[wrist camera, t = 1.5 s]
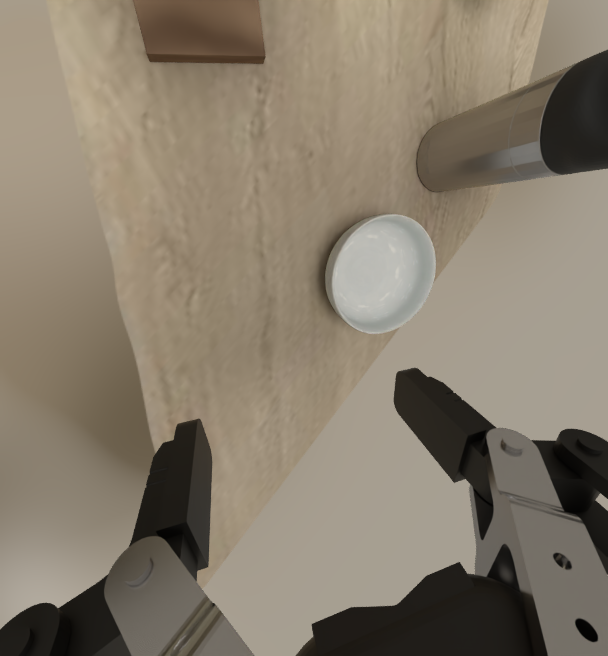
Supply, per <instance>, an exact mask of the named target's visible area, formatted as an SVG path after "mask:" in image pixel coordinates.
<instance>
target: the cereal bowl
mask: <svg viewBox="0 0 608 656" xmlns="http://www.w3.org/2000/svg"><path fill="white" fill-rule="evenodd" d="M435 271H436V256H435V250H434V247H433V244H432V241H431V239H430V237H429V235H428V233H427V232H426V230H425V229H424V228H423V227H422V226H421V225H420V224H419V223H418V222H416V221H415V220H413V219H411V218H409V217H407V216H404V215H399V214H380V215H376V216H372V217H369V218H366V219H363V220H362V221H359V222H358V223H356V224H355V225H353V226H352V227H351V228H349V229H348V230H347V231H346V232H345V233H344V234H343V235H342V236H341V237H340V239H339V240H338V241H337V243H336V244H335V246H334V247H333V249H332V252H331V253H330V256H329V259H328V262H327V266H326V272H325V285H326V291H327V295H328V298H329V301H330V303H331V305H332V307H333V308H334V310H335V311H336V313H337V314H338V315H339V316H340V317H341V318H342V319H343V320H344V321H345V322H346V323H347V324H348V325H350V326H351V327H353V328H354V329H356V330H358V331H361V332H364V333H368V334H381V333H386V332H389V331H392V330H395V329H397V328H399V327H400V326H402V325H404V324H405V323H407V322H408V321H409V320H410V319H411V318H412V317H414V316H415V315H416V313H417V312H418V311H419V310H420V309H421V307H422V306H423V304H424V303H425V301H426V299H427V297H428V296H429V293H430V291H431V288H432V285H433V282H434V278H435Z"/></svg>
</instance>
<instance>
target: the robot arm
mask: <svg viewBox="0 0 608 656" xmlns="http://www.w3.org/2000/svg"><path fill="white" fill-rule="evenodd" d="M607 168H608V50H606V51H603V52H601V53H599V54H596V55H594V56H592V57H589V58H587V59H585V60H583V61H580V62H578V63H576V64H574V65H572V66H569V67H567V68H565V69H562V70H560V71H558V72H555V73H553V74H551V75H549V76H546V77H544V78H542V79H540V80H538V81H535V82H533V83H531V84H528V85H526V86H524V87H521V88H519V89H517V90H515V91H512V92H510V93H508V94H505V95H503V96H501V97H499V98H496V99H494V100H492V101H489V102H487V103H485V104H483V105H480V106H478V107H476V108H473V109H471V110H469V111H467V112H464V113H462V114H459V115H457V116H455V117H453V118H450V119H448V120H446V121H443V122H441V123H439V124H437V125H435V126H434V127H432V128H431V129H430V130H429V131H428V132H427V134H426V135H425V137H424V138H423V140H422V142H421V144H420V147H419V151H418V157H417V169H418V174H419V177H420V179H421V181H422V183H423V184H424V186H426V187H427V188H428V189H429V190H431V191H435V192H441V191H449V190H457V189H465V188H472V187H479V186H487V185H494V184H501V183H508V182H516V181H523V180H530V179H536V178H544V177H550V176H558V175H564V174H572V173H578V172H585V171H593V170H600V169H607ZM394 405H395V408H396V410H397V412H398V414H399V415H400V416H401V418H402V419H403V420H404V421H405V423H406V424H407V425H408V426H409V427H410V428H411V430H412V431H413V432H414V434H415V435H416V436H417V437H418V439H419V440H420V441H421V442H422V443H423V445H424V446H425V447H426V448H427V450H428V451H429V452H430V453H431V455H432V456H433V457H434V458H435V460H436V461H437V462H438V463H439V464H440V466H441V467H442V468H443V470H444V471H445V472H446V473H447V474H448V476H449V477H450V478H451V479H452V481H453V482H454V483H455V482H458V481H461V480H463V479H466V480H467V481H468V482H469V483H470V487H469V492H470V501H471V507H472V516H473V524H474V532H475V539H476V558H475V559H476V560H475V575H474V574H467V573H466V571H465V570H464V568H463V566H462V565H461V564H460V562H459V563H456V564H454V565H451V566H449V567H446V568H444V569H442V570H439V571H437V572H435V573H432V574H430V575H427V576H426V577H425V578H424V579H423V580H422V581H421V582H420V583H419V584H418V585H417V586H416V587H415V588H414V589H413V590H412V591H411V592H410V593H409V594H408V595H407V596H406V597H405V598H404V599H403V600H402V601H401V602H400V603H398V604H397V605H395V606H378V607H351V608H349V609H346V610H344V611H342V612H339V613H337V614H334V615H332V616H330V617H327V618H325V619H323V620H320V621H318V622H316V623H313V624H312V630H313V638H311V639H310V640H309V641H308V642H307V643H306V644H305V645H304V646H303V647H302V649H301V650H300V651H299V652H298V654H297V655H296V656H608V576H607V574H608V511H607V510H606V509H605V508H604V507H602V506H601V505H600V504H599V503H598V502H597V501H595V500H596V498H597V497H598V495H599V494H600V493H601V494H602V495H603V496H605V497H606V498H607V499H608V442H607V441H605V440H604V439H602V438H600V437H598V436H596V435H594V434H592V433H589V432H586V431H583V430H578V429H565V430H563V431H561V432H560V434H559V436H558V438H557V440H556V441H537V440H536V441H535V440H530V439H528V438H527V437H526V436H524V435H522V434H520V433H518V432H516V431H513V430H510V429H506V428H496V427H495V426H493V425H492V424H491V423H490V422H489V421H488V420H486V419H485V418H484V417H483V416H482V415H481V414H479V413H478V412H477V411H476V410H475V409H473V408H472V407H471V406H470V405H469V404H468V403H466V402H465V401H464V400H462V399H461V397H459V396H458V395H457V394H456V393H453V391H452V390H451V389H450V388H449V387H447V386H446V385H445V384H444V383H443V382H440V381H438V380H436V379H434V378H432V377H427V376H426V375H424V374H423V373H422V372H421V371H420V370H419V369H417V368H411V369H407V370H403V371H399V372H397V374H396V382H395V391H394ZM211 482H212V455H211V449H210V446H209V443H208V440H207V437H206V434H205V431H204V428H203V425H202V422H201V420H200V419H196V420H192V421H187V422H183V423H179V424H177V426H176V431H175V436H174V440H173V441H169V442H165V443H163V444H162V445H161V447H160V448H159V450H158V451H157V453H156V454H155V456H154V457H153V461H152V465H151V468H150V475H149V476H148V480H147V484H146V485H147V487H146V488H145V491H144V495H143V499H142V503H141V507H140V510H139V514H138V518H137V522H136V525H135V529H134V533H133V537H132V540H131V543H130V545H129V547H128V548H127V549H126V550H125V551H124V552H123V553H122V554H121V555H120V556H119V558H118V559H117V560H116V562H115V563H114V565H113V566H112V568H111V570H110V572H109V574H108V575H107V576H105V577H104V578H103V579H102V580H101V581H99V582H98V583H96V584H95V585H93V586H92V587H90V588H89V589H87V590H86V591H84V592H83V593H81V594H80V595H78V596H77V597H75V598H73V599H72V600H70V601H69V602H67V603H66V604H64V605H63V606H61V607H60V608H57V607H56V606H55V605H53V604H51V603H40V604H37V605H34V606H32V607H30V608H28V609H26V610H24V611H22V612H21V613H19V614H18V615H17V616H16V617H14V618H13V619H11V620H10V621H9V622H8V623H7V624H5V626H3V627H2V628H1V629H0V656H254V655H253V653H252V652H251V650H250V649H249V648H248V647H247V645H246V644H245V642H244V641H243V640H242V638H241V637H240V636H239V635H238V633H237V632H236V630H235V629H234V628H233V626H232V625H231V624H230V623H229V621H228V620H227V619H226V617H225V616H224V615H223V613H222V612H221V611H220V610H219V608H218V607H217V606H216V605H215V604H214V603H212V602H211V601H210V599H209V598H208V597H207V595H206V594H205V593H204V591H203V590H202V589H201V587H200V586H199V585H198V583H197V582H196V581H197V571H198V570H201V569H204V568H207V567H208V562H209V535H210V508H211Z"/></svg>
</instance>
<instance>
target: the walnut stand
mask: <svg viewBox="0 0 608 656" xmlns="http://www.w3.org/2000/svg"><path fill="white" fill-rule="evenodd" d="M133 2H134V6H135V9H136V13H137V17H138V21H139V25H140V29H141V33H142V36H143V40H144V44H145V48H146V52H147V55H148V58H149V60H150V62H201V63H263V62H264V59H265V49H264V42H263V34H262V26H261V18H260V10H259V3H258V0H133Z"/></svg>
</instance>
